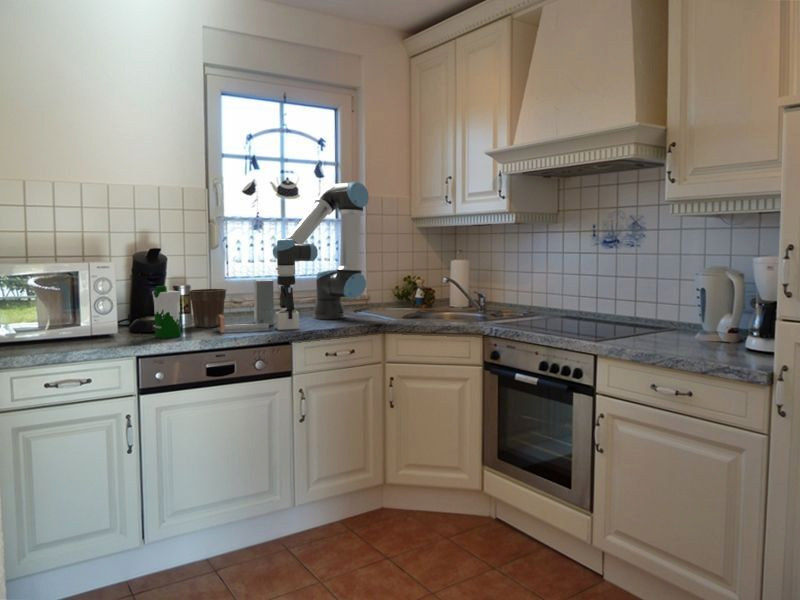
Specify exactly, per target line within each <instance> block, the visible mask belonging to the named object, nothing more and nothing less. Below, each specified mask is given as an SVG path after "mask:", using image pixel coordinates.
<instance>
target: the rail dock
mask: <svg viewBox="0 0 800 600" xmlns="http://www.w3.org/2000/svg"><path fill="white" fill-rule="evenodd" d="M217 327H218V331H219V333H220V334H222V335H223V333H226V334H240V333H241V334H242V333H257V332H260V333H261V332H271V331H272V329H270V325H269V323H259V324H256V323H242V324H226V322H225V317H223V315H222V314H219V315H218V326H217Z"/></svg>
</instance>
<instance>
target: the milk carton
mask: <svg viewBox="0 0 800 600" xmlns="http://www.w3.org/2000/svg"><path fill="white" fill-rule="evenodd" d="M167 289H168V288H167V286H165V285H159V286H157V285H156V286H155V290H153V291H152V299H153V306H154V308H153V309H154V337H155V338H158V339H163V340H165V339H175V338H181V337H182V330H181V306H180V305H181V303H180V300H181V291H179V290H167ZM180 336H181V337H180ZM174 337H175V338H174Z"/></svg>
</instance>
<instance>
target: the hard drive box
mask: <svg viewBox="0 0 800 600" xmlns="http://www.w3.org/2000/svg"><path fill="white" fill-rule="evenodd" d="M274 306H275V304H274V280H273V279H268V278H267V279H253V307H254V311H253V312H254V314H253V317H254V324H259V323H269V326H274V325H275V323H274V322H275V315H274V314H275V309H274V308H275V307H274Z"/></svg>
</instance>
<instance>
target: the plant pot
mask: <svg viewBox="0 0 800 600" xmlns="http://www.w3.org/2000/svg"><path fill="white" fill-rule="evenodd" d="M187 291H188V292H189V298H190V301H191V307H192V316H193V323H194V325H193V326H194V327H195V328H216V327H218V315H219V314H222V315H223V317H224V315H225V302H226V301H225V300H226V296H227V295H226V294H227V291H228V290H227V288H201V289H199V288H198V289H197V288H196V289H190V290H187ZM224 318H225V317H224Z"/></svg>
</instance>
